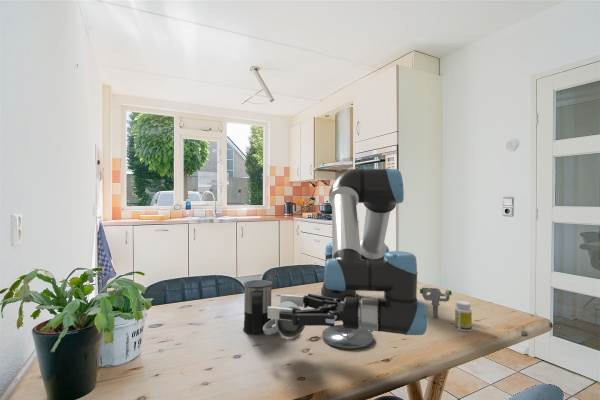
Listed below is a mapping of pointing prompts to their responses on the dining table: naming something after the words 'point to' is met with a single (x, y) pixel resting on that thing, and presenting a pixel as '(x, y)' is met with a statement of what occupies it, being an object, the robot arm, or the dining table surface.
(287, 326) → the ceramic mug
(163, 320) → the dining table surface
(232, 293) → the dining table surface
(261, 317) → the milk frother
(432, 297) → the mechanical component
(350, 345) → the plate
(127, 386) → the dining table surface
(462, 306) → the supplement bottle
